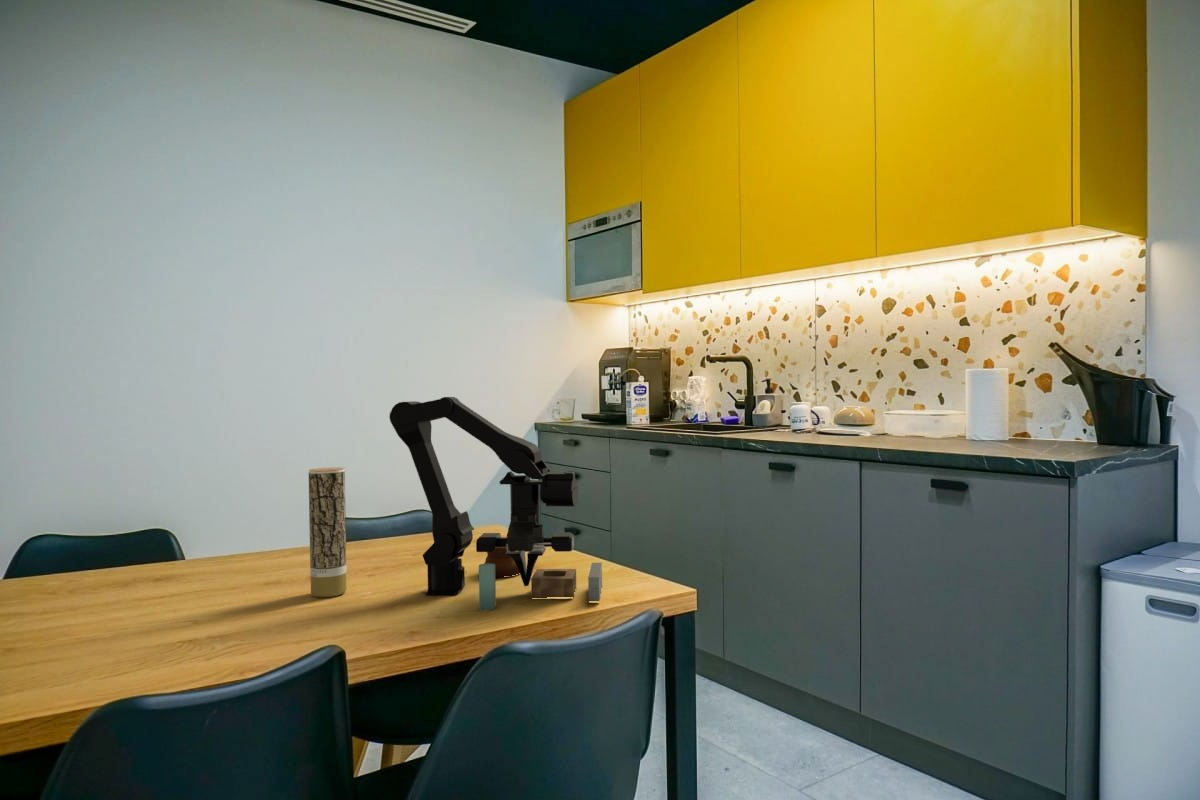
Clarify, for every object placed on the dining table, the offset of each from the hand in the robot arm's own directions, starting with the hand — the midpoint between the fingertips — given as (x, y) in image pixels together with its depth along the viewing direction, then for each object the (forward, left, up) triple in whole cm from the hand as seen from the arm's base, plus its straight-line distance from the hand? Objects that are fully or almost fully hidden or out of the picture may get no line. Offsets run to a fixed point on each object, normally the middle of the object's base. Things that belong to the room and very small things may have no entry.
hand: (526, 585), depth 151 cm
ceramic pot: (-8, +17, -2) cm, 19 cm away
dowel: (-6, -10, -2) cm, 12 cm away
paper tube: (-40, 0, -2) cm, 40 cm away
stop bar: (+14, -1, -2) cm, 14 cm away
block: (+5, 0, -2) cm, 6 cm away
